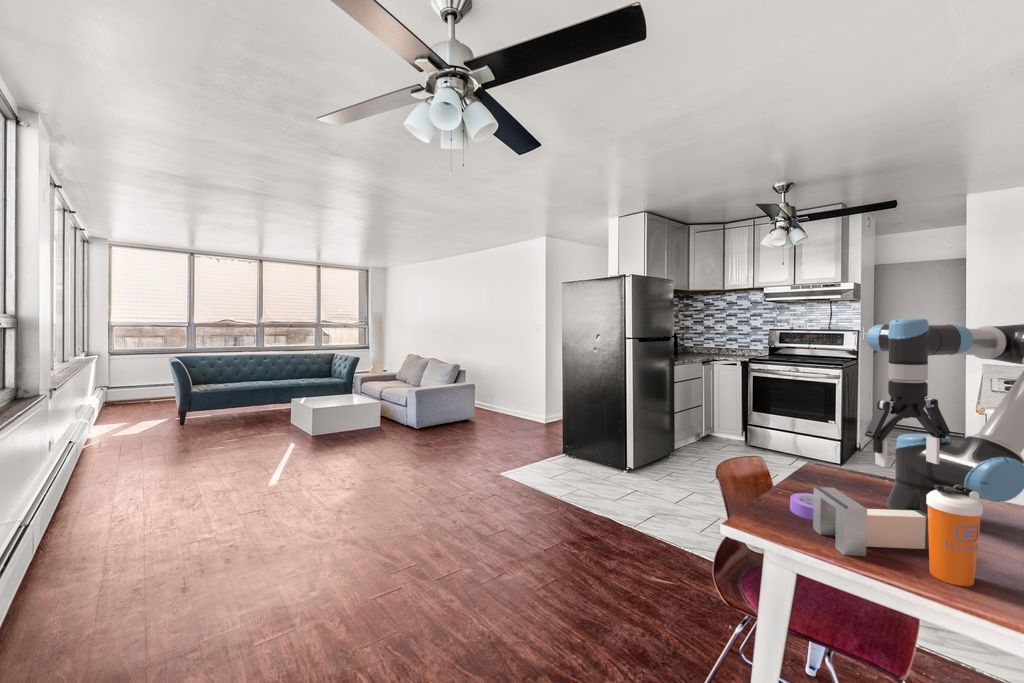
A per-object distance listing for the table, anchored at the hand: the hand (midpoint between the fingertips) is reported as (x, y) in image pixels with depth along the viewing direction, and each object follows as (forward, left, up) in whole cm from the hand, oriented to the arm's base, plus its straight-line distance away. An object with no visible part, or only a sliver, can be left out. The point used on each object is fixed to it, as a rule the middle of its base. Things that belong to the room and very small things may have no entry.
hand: (907, 464), depth 116 cm
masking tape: (+14, -16, -21) cm, 30 cm away
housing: (+17, +2, -20) cm, 26 cm away
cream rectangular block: (+5, +2, -20) cm, 21 cm away
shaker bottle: (+2, +17, -20) cm, 26 cm away
